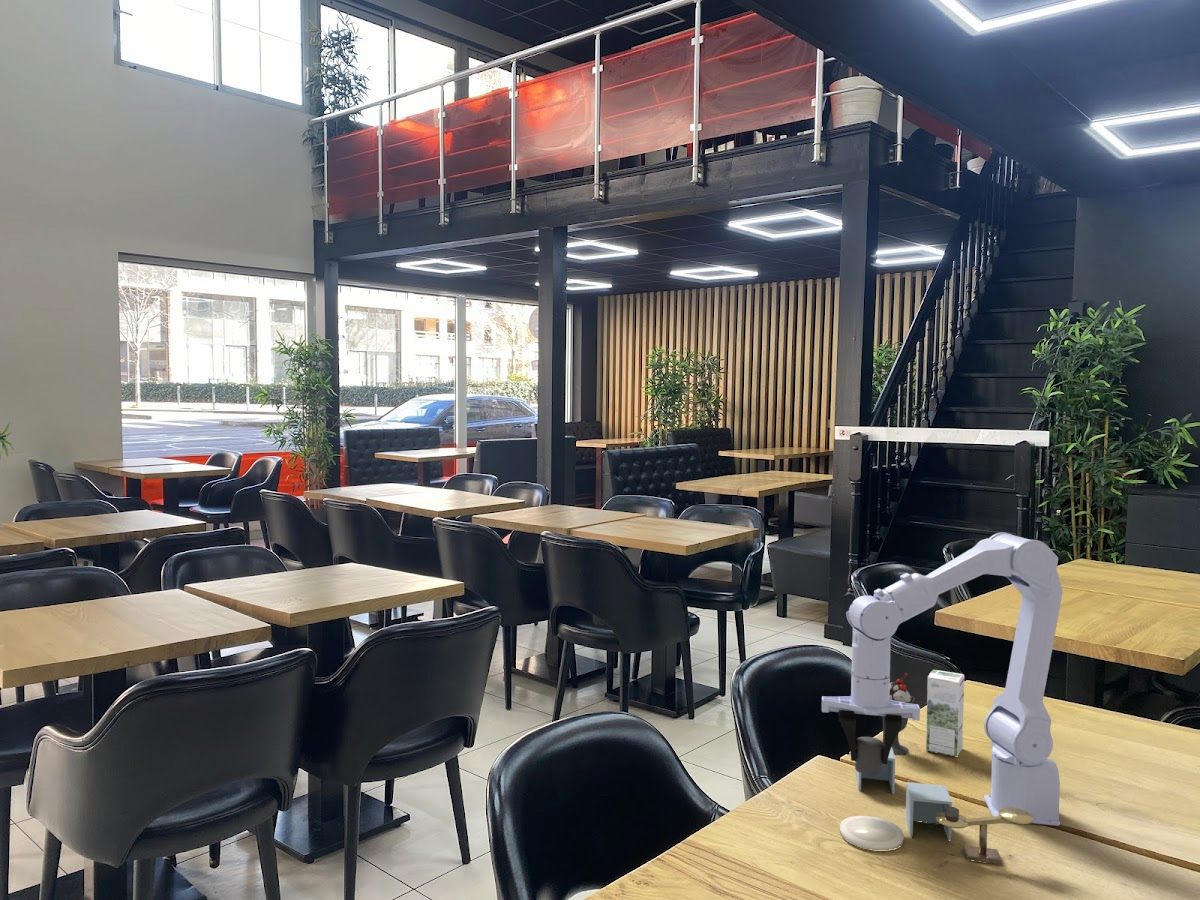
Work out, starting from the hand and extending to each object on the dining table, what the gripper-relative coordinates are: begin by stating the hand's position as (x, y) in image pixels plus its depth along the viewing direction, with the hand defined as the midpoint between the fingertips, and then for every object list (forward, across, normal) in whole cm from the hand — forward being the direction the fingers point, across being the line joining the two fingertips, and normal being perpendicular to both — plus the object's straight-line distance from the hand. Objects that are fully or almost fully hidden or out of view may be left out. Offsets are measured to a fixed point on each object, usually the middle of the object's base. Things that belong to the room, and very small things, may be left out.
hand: (868, 760), depth 134 cm
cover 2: (+9, +9, -2) cm, 13 cm away
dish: (+9, 0, -7) cm, 11 cm away
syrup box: (+9, +16, +32) cm, 36 cm away
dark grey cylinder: (+2, 0, 0) cm, 2 cm away
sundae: (+9, +7, +30) cm, 32 cm away
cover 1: (+9, +2, +12) cm, 15 cm away
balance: (+9, +15, -9) cm, 20 cm away
